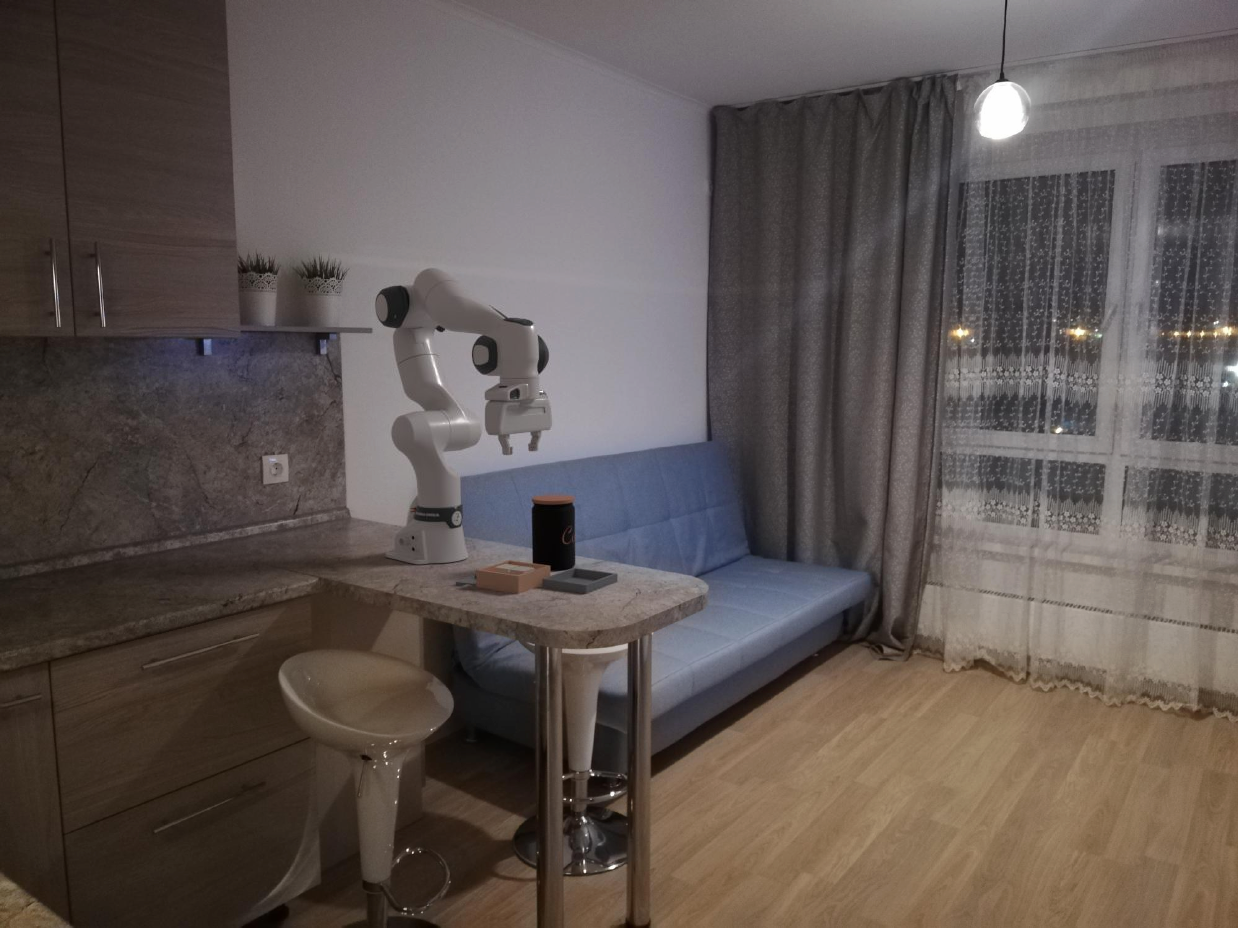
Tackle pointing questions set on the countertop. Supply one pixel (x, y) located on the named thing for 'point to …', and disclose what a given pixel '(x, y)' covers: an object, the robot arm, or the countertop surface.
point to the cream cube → (505, 568)
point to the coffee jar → (553, 531)
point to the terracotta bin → (512, 577)
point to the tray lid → (467, 581)
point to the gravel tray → (579, 580)
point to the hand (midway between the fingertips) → (520, 453)
